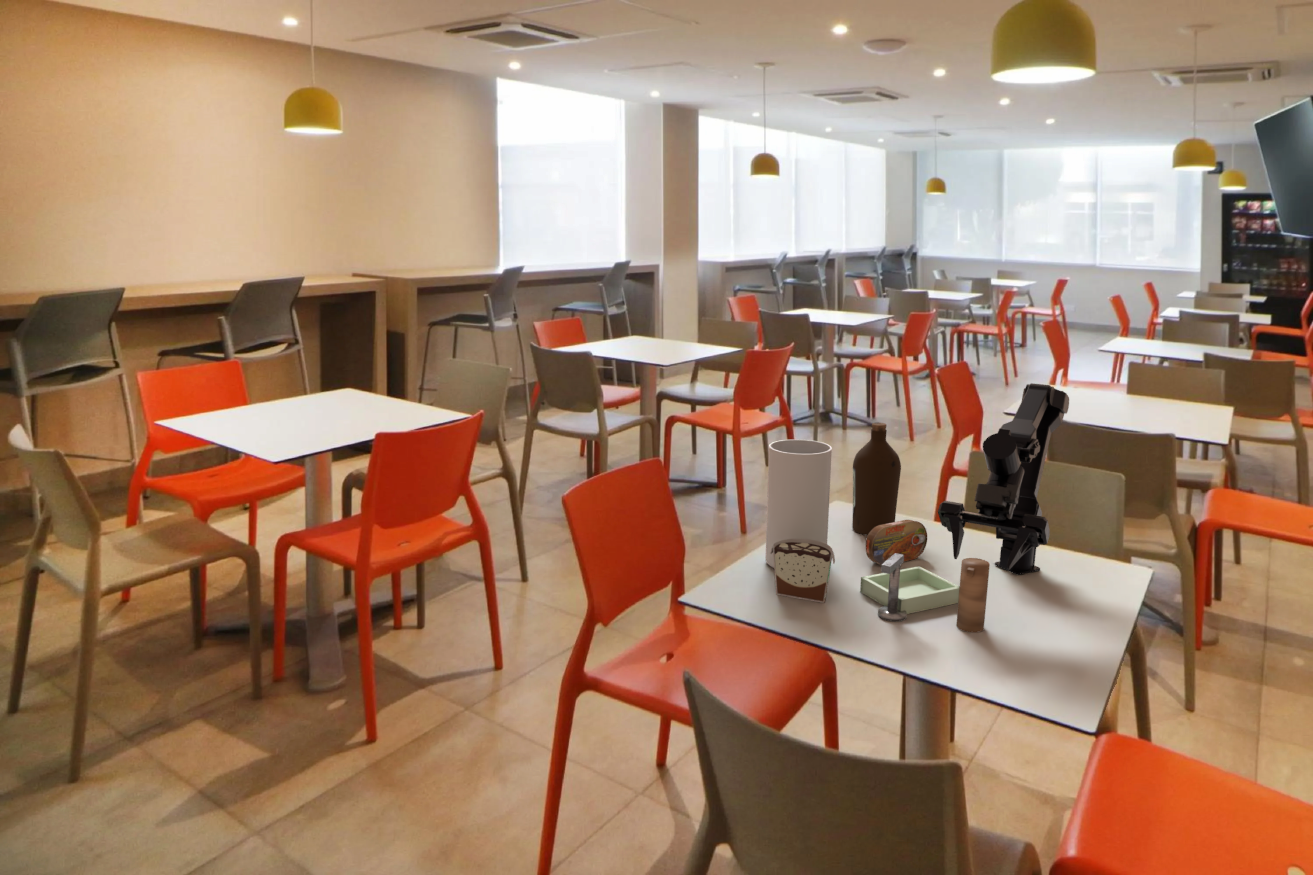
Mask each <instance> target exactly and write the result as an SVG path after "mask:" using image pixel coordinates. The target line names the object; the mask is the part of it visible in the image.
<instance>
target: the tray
mask: <svg viewBox="0 0 1313 875" xmlns="http://www.w3.org/2000/svg"><path fill="white" fill-rule="evenodd" d="M959 588H960V585H958V584H955V583H954V582H951V581H950V580H947V579H945V578H943V577H941V576H939V575H938V574H936V573H934V572H931V571H930V570H928V569H925V568H923V567H922V566H914V567H907V568H902V569H900V581H899V596H898V610H900V611H904V610H905V611H906V612H907V614H906V615H908V614H913V613H914V614H915V613H918V612H922V611H927V610H932V609H937V608H942V607H946V606H950V605H955V604H958V600H959ZM888 590H889V574H887V573H882V572H880V573H875V574H872V575H871V574H870V575H866V576H861V577H860V590H859V592H860V593H861V594H863V595H865V596H866V597H868V598H870V599H871V600H873V601H875V602H877V603H878V604H880V605H882V606H883V607H884V606H888Z"/></svg>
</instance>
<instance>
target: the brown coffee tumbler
mask: <svg viewBox="0 0 1313 875" xmlns="http://www.w3.org/2000/svg"><path fill="white" fill-rule="evenodd" d="M990 566H991V565H990V562H989V561H987V560H985V559H982V558H976V557H967V558H963V559H961V567H960V578H959V586H960V588H959V600H958V603H957V614H956V625H955V626H956V627H957V629H959V630H961V631H963V632H966V633H976V634H977V633H981V632H983V631H984V630H985V621H986V620H985V619H986V608H987V596H988V585H989V576H990Z"/></svg>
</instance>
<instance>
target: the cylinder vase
mask: <svg viewBox="0 0 1313 875" xmlns="http://www.w3.org/2000/svg"><path fill="white" fill-rule="evenodd" d="M832 450H833V448H832V446H831V445H830V444H828V443H825V442H823V441H817V440H812V439H809V440H808V439H796V438H795V439H782V440H777V441H773V442H770V444H769V445H768V462H767V463H768V466H767V467H768V470H767V498H766V500H767V501H766V505H767V506H766V530H765V562H766V563H767V565H768V566H770V567H771V568H773V569H774V555H773V553H772V554H770V552H771V548H772V547H773V544H774V543H776V542H778V541H781V540H785V539H810V540H816V541H820V542H823V543H825V544H827V545H828V537H829V536H828V535H829V534H828V532H829V518H830V517H829V516H830V514H829V512H830V491H831V472H832V471H831V470H832V453H833V452H832Z"/></svg>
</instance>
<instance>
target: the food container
mask: <svg viewBox="0 0 1313 875" xmlns="http://www.w3.org/2000/svg"><path fill="white" fill-rule="evenodd" d="M772 553H773V555H774V568H773V569H774V581H775V593H776V594H775V595H777V596H778V595H779V596H783V597H788V598H793V599H799V600H804V601H805V600H806V601H811V602H818V603H822V604H824V603H826V599H827V593H828V585H829V581H830V580H829V578H830V573H831V567H832V565H831V564H833V565H835V563H836V558H835V553H834V550H833V547H831V546H830V545H828V543H827V544H825V543H823V542H820V541H816V540H810V539H785V540H781V541H778V542H776V543H774V544H773V547H772V548H771V552H770V554H772Z"/></svg>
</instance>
